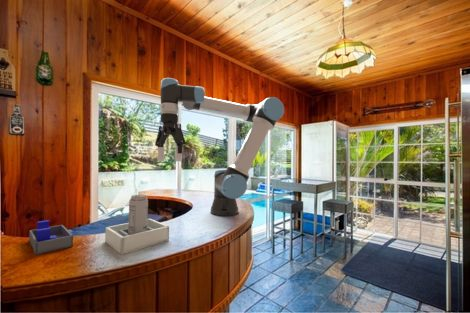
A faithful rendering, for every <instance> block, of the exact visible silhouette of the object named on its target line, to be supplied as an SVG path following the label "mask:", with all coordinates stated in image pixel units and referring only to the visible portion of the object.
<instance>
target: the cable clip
mask: <svg viewBox="0 0 470 313" xmlns="http://www.w3.org/2000/svg"><path fill="white" fill-rule="evenodd" d="M36 224H37V226H36V229H37V242H41V241H46V240H51V239H56V235H53V236H50V228H49V227H50V220H49V219H48V220H46V219H45V220H41V221H40V220H39V221H37V222H36Z"/></svg>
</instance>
